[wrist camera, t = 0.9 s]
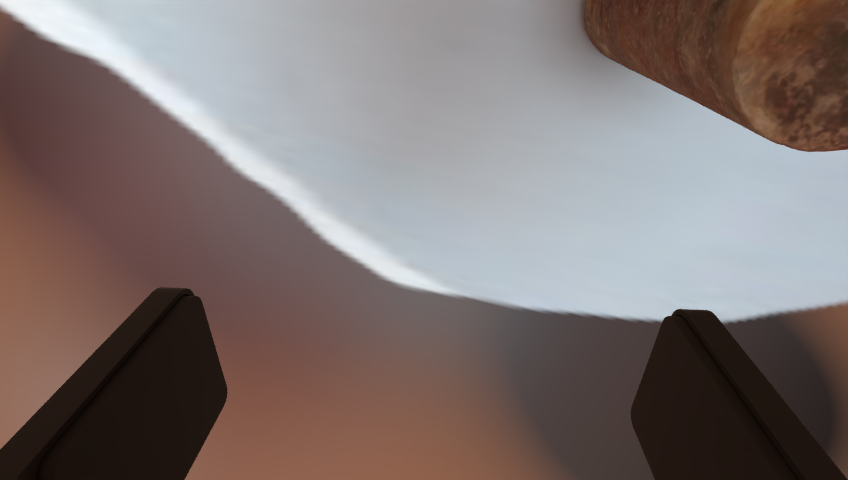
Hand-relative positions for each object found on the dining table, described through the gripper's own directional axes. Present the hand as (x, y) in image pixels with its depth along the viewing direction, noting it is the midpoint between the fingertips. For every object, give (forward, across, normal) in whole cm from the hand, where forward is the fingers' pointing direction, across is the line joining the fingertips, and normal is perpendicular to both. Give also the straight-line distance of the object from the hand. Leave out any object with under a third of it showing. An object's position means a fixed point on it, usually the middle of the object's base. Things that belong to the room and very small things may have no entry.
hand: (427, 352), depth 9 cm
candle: (+28, -13, -6) cm, 31 cm away
